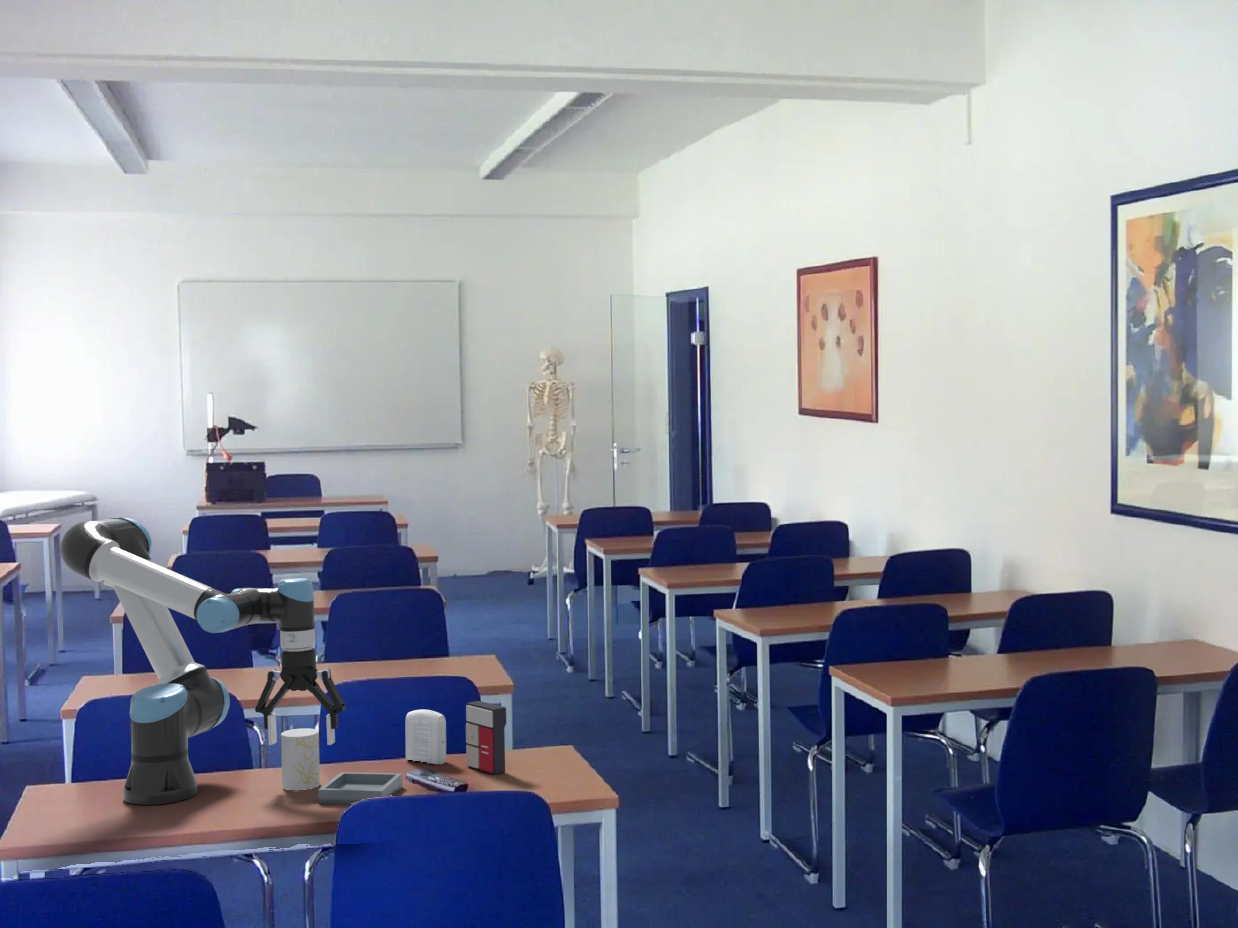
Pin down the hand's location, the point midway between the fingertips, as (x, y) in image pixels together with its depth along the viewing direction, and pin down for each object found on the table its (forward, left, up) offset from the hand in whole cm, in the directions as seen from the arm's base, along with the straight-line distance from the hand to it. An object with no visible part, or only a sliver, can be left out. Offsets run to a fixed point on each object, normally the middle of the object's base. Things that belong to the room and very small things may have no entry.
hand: (301, 743), depth 289 cm
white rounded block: (+22, +23, -10) cm, 33 cm away
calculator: (+38, +17, -10) cm, 42 cm away
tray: (+16, -6, -10) cm, 19 cm away
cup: (0, 0, -10) cm, 10 cm away
